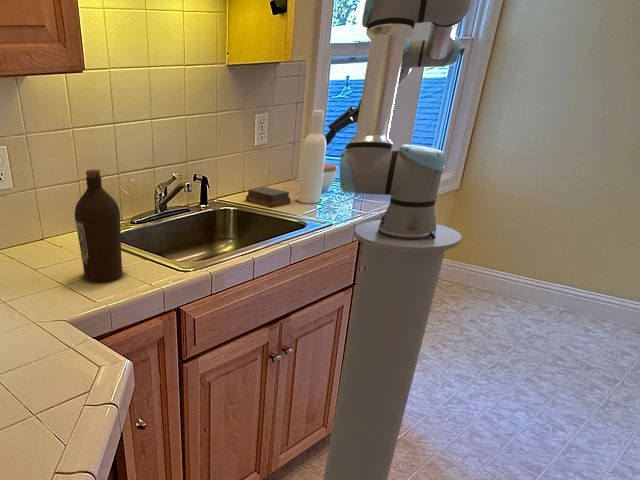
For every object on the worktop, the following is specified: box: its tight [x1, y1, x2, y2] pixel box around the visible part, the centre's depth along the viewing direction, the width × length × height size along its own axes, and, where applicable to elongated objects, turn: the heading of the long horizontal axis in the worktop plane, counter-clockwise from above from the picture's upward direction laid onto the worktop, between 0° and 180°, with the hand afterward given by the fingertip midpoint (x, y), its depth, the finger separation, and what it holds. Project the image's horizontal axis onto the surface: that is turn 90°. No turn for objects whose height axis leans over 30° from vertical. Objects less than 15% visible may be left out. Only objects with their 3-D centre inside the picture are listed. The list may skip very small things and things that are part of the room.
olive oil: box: [74, 169, 123, 283], centre depth 119 cm, size 11×11×25 cm
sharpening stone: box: [245, 186, 292, 208], centre depth 184 cm, size 14×9×4 cm, turn 32°
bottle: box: [297, 109, 328, 204], centre depth 177 cm, size 8×8×30 cm
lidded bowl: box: [321, 162, 339, 193], centre depth 197 cm, size 13×13×11 cm
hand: (334, 148), depth 178 cm, fingers open, 13 cm apart
